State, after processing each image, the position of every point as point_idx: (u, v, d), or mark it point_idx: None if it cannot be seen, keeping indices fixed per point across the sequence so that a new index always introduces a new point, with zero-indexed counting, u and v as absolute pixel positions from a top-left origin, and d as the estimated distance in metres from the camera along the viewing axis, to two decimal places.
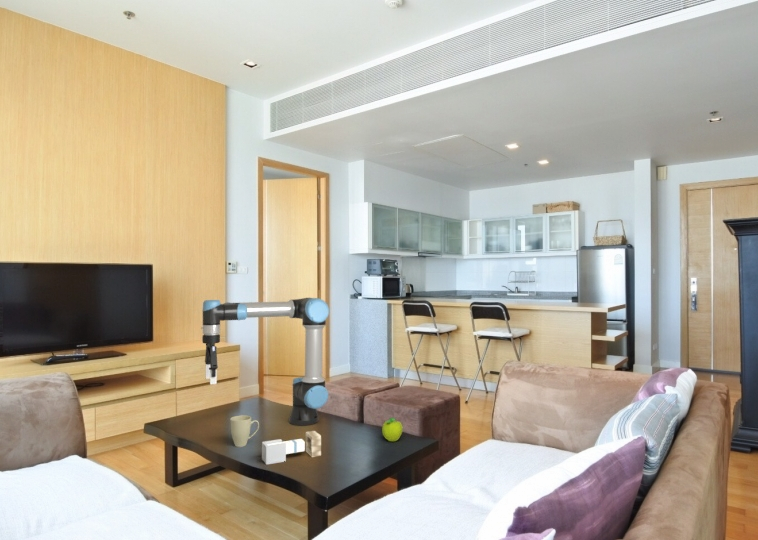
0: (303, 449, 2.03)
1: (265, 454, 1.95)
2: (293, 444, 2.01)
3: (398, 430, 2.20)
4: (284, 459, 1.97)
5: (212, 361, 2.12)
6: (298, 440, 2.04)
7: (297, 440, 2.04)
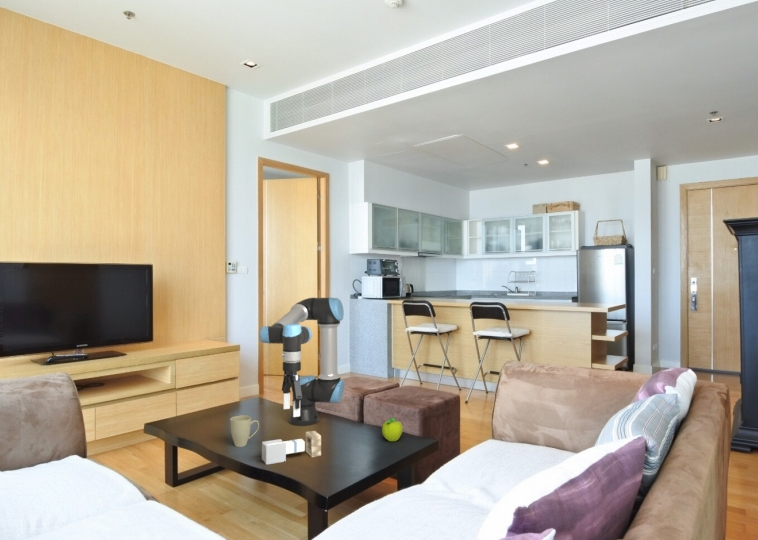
0: (303, 449, 2.03)
1: (265, 454, 1.95)
2: (293, 444, 2.01)
3: (398, 430, 2.20)
4: (284, 459, 1.97)
5: (296, 392, 1.95)
6: (298, 440, 2.04)
7: (297, 440, 2.04)
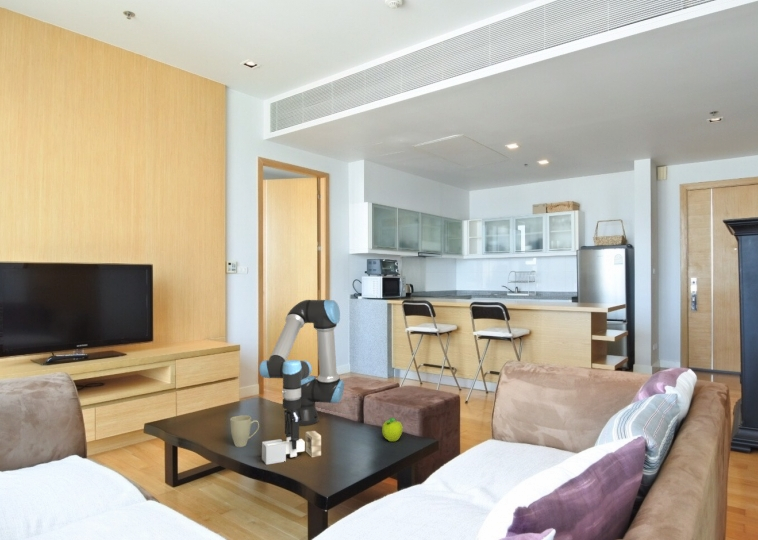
0: (303, 449, 2.03)
1: (265, 454, 1.95)
2: None
3: (399, 430, 2.20)
4: (284, 459, 1.97)
5: (294, 434, 1.97)
6: (298, 440, 2.04)
7: None
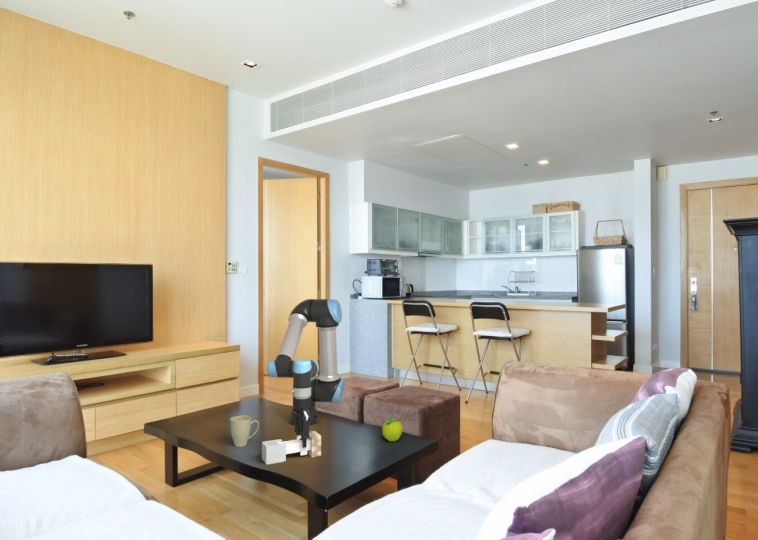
0: None
1: (265, 454, 1.95)
2: None
3: (398, 430, 2.20)
4: (284, 459, 1.97)
5: (304, 432, 1.99)
6: None
7: None
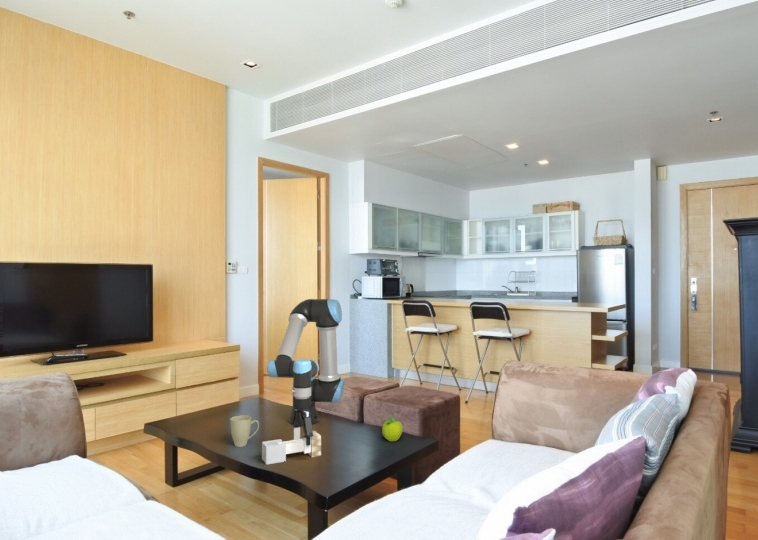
0: None
1: (265, 454, 1.95)
2: (303, 442, 2.03)
3: (398, 430, 2.20)
4: (284, 459, 1.97)
5: (307, 429, 1.96)
6: None
7: None
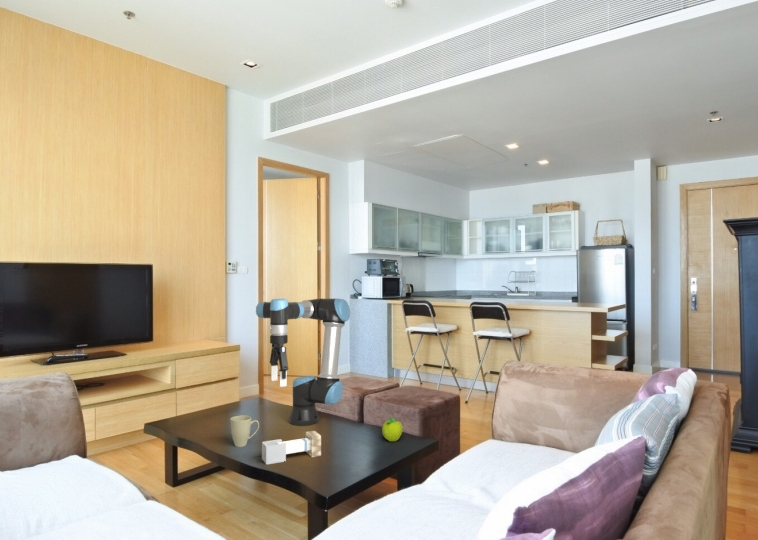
0: None
1: (265, 454, 1.95)
2: (303, 442, 2.03)
3: (399, 430, 2.20)
4: (284, 459, 1.97)
5: (283, 362, 2.04)
6: (308, 438, 2.06)
7: (307, 438, 2.06)
